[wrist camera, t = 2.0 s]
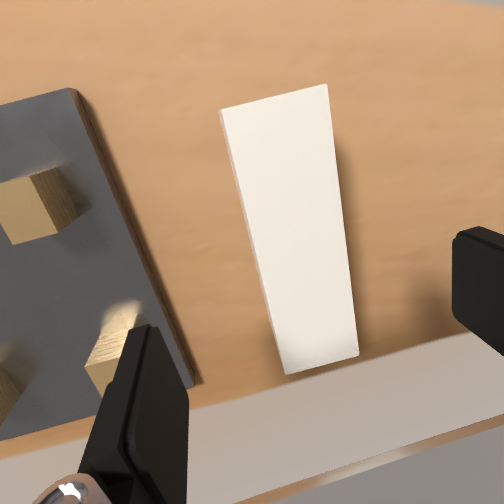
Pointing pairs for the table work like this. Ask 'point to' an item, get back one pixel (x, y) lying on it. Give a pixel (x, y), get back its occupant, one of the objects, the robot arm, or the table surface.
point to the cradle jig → (65, 269)
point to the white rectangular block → (295, 223)
